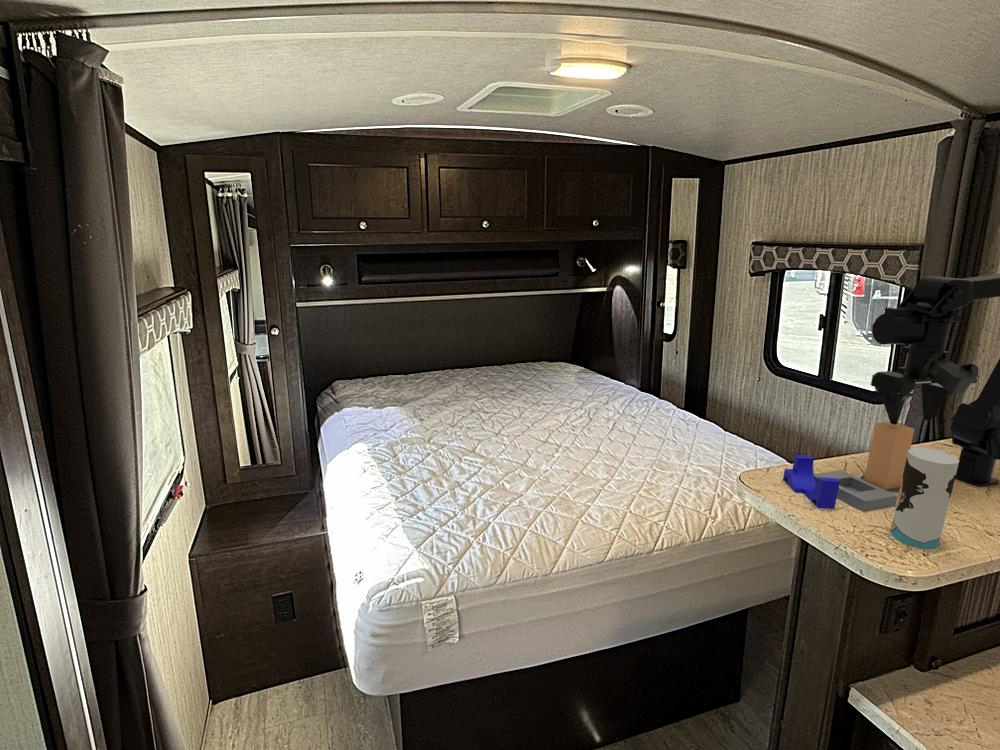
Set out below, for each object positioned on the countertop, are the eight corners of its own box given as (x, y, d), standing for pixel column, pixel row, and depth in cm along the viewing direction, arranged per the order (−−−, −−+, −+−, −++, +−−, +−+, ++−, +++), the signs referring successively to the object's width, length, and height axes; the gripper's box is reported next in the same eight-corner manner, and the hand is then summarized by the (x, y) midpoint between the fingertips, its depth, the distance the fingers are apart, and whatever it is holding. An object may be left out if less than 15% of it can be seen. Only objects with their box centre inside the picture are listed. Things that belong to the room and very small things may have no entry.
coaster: (878, 475, 127) (879, 472, 127) (916, 491, 119) (916, 488, 119) (850, 479, 124) (850, 476, 124) (886, 496, 117) (887, 493, 117)
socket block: (839, 481, 123) (841, 469, 122) (894, 508, 112) (897, 495, 111) (808, 486, 120) (811, 474, 120) (862, 514, 109) (865, 501, 109)
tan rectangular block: (880, 477, 124) (892, 421, 121) (901, 486, 120) (914, 428, 117) (864, 479, 123) (875, 423, 120) (885, 489, 119) (897, 430, 116)
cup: (936, 537, 102) (956, 453, 98) (940, 555, 96) (962, 467, 92) (889, 526, 105) (906, 444, 101) (890, 543, 100) (909, 457, 96)
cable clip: (782, 482, 122) (787, 454, 120) (805, 483, 122) (810, 455, 120) (808, 510, 110) (813, 480, 109) (833, 512, 110) (839, 481, 109)
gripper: (935, 355, 105) (916, 440, 109) (1006, 351, 112) (985, 431, 116) (876, 342, 115) (861, 421, 119) (944, 339, 122) (928, 413, 126)
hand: (910, 422), depth 120 cm, fingers open, 9 cm apart
